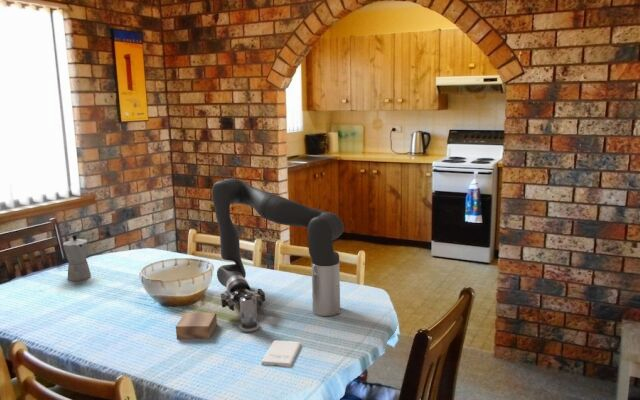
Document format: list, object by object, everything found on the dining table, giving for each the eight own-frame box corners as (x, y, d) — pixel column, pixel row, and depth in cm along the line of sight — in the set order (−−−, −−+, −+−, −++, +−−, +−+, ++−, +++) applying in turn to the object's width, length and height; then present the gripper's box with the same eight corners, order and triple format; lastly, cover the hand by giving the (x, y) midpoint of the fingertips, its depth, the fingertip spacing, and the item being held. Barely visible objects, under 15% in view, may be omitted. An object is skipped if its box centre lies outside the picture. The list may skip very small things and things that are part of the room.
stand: (216, 324, 169) (216, 312, 169) (209, 338, 160) (208, 326, 159) (186, 324, 170) (185, 312, 169) (176, 338, 160) (175, 326, 159)
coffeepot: (97, 278, 215) (92, 235, 211) (73, 284, 208) (68, 240, 205) (82, 269, 226) (78, 229, 222) (59, 275, 219) (54, 233, 216)
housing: (260, 323, 169) (259, 290, 167) (257, 332, 163) (256, 298, 161) (241, 323, 169) (239, 291, 167) (237, 332, 163) (235, 298, 161)
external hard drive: (300, 347, 154) (290, 368, 142) (273, 345, 156) (261, 366, 144) (300, 341, 154) (290, 363, 142) (273, 340, 156) (261, 360, 144)
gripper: (217, 281, 180) (223, 297, 165) (258, 275, 185) (267, 291, 170) (218, 301, 182) (224, 320, 167) (259, 296, 186) (268, 313, 171)
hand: (246, 305), depth 168 cm, fingers open, 8 cm apart
